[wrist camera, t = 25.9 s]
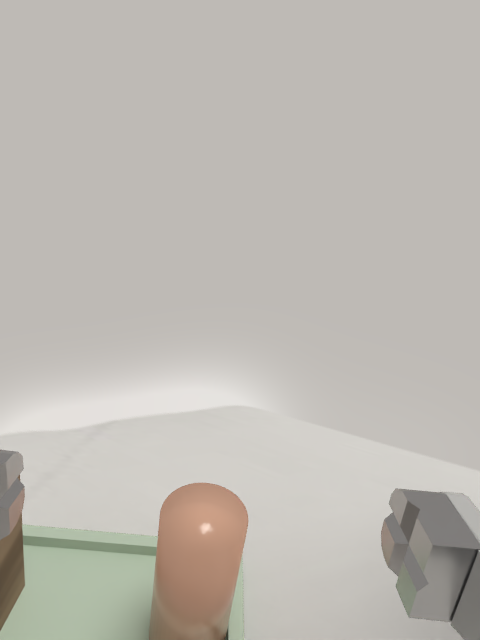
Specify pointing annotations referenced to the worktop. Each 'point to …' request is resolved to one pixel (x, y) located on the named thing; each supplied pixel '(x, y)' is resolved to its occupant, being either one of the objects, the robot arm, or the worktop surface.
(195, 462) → the worktop surface
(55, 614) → the tray
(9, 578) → the walnut block
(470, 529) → the robot arm
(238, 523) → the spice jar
